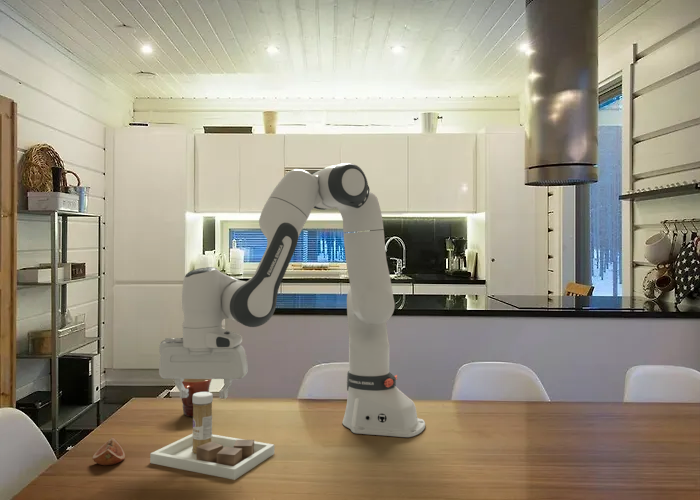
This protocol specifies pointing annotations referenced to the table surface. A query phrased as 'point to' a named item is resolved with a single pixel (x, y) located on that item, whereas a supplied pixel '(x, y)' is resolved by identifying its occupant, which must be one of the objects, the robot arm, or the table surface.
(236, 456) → the cube
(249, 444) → the cube
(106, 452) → the fruit slice
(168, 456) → the tray
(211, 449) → the cube
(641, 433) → the table surface
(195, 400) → the sprinkles bottle
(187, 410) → the mug
